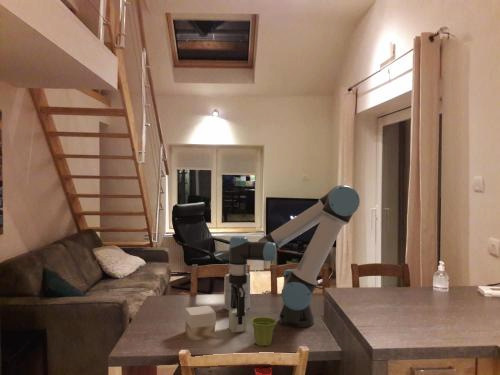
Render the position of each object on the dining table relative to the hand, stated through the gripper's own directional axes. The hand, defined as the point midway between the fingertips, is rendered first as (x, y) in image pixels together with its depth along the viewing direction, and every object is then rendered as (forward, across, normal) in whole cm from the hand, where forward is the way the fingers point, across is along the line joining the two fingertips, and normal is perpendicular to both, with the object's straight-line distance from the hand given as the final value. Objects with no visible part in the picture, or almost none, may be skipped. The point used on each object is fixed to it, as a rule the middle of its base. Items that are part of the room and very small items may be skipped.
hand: (237, 328), depth 169 cm
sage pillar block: (0, 0, 0) cm, 0 cm away
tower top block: (-4, +2, -16) cm, 17 cm away
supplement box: (+1, -27, +7) cm, 28 cm away
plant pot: (+1, +17, +6) cm, 18 cm away
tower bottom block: (+1, +2, -16) cm, 16 cm away
